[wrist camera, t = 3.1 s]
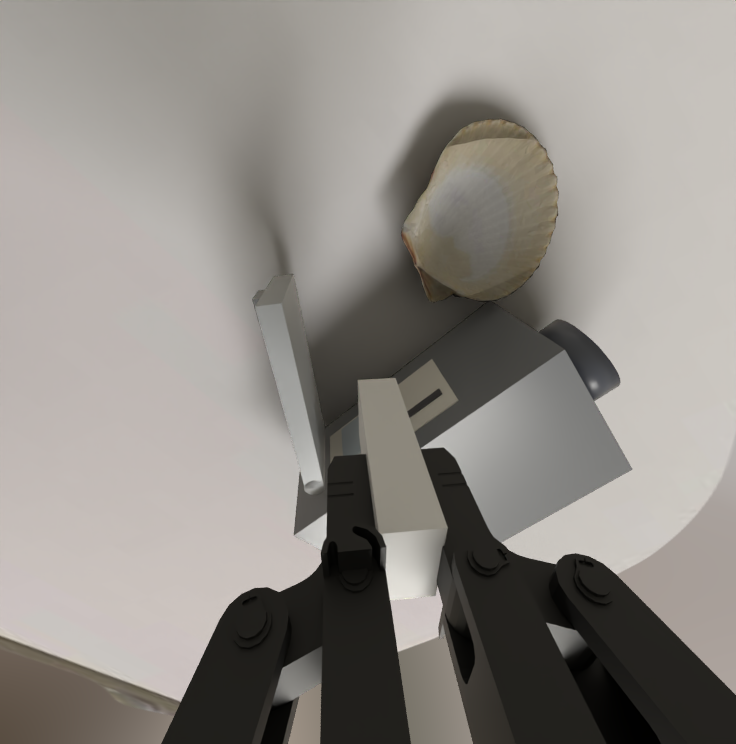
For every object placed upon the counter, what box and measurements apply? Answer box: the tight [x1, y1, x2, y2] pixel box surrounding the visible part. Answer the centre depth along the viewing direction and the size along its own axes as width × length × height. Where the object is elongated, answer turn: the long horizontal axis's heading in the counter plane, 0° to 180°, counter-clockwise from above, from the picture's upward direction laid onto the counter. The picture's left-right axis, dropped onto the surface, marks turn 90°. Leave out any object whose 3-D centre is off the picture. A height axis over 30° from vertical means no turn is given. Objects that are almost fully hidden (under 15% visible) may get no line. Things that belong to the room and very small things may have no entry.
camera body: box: [294, 301, 632, 550], centre depth 20 cm, size 10×18×8 cm, turn 130°
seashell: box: [401, 119, 559, 303], centre depth 16 cm, size 8×3×8 cm
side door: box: [252, 274, 325, 495], centre depth 17 cm, size 2×11×5 cm, turn 5°
